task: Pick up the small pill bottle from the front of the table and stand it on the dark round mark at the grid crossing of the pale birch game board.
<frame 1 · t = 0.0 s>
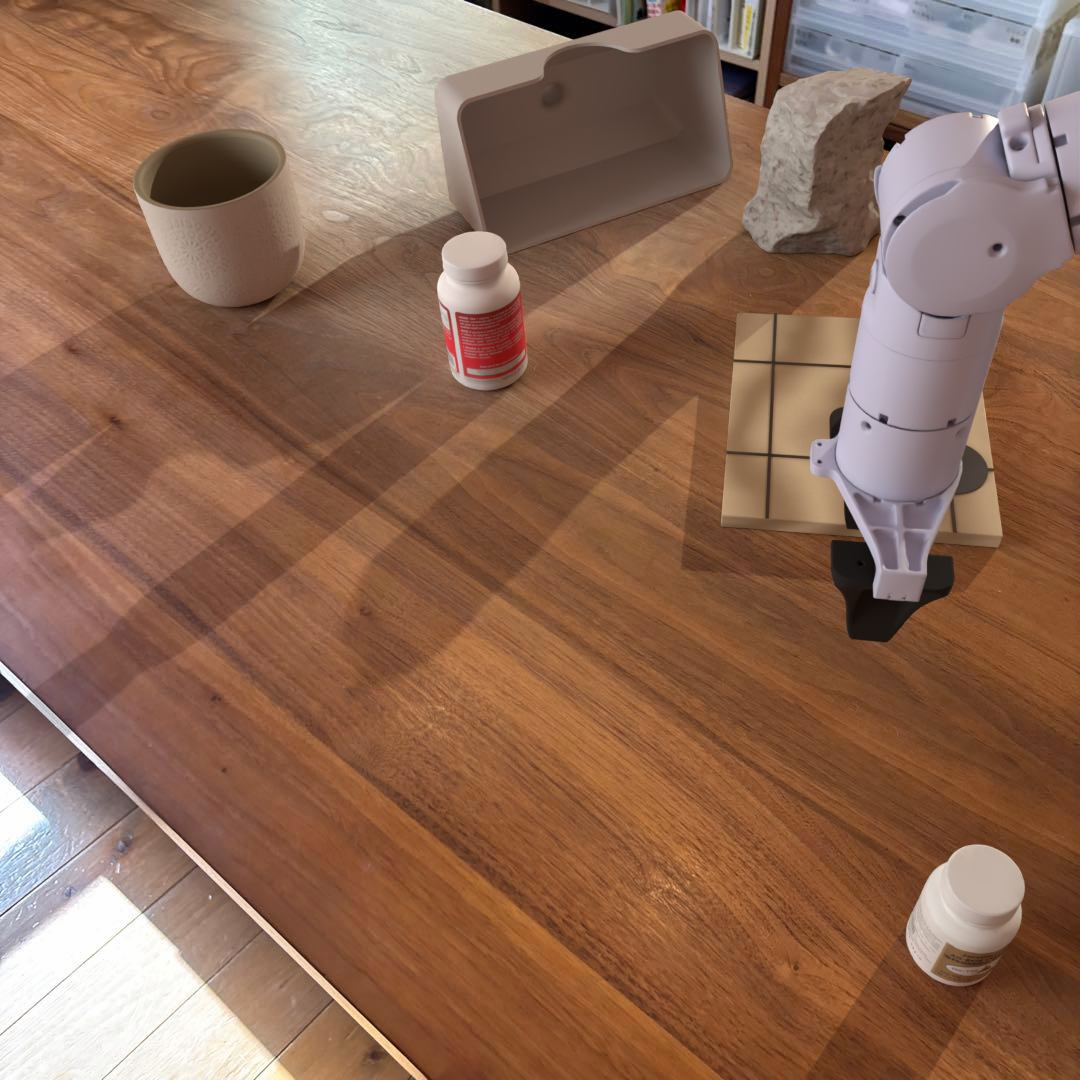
hand: (866, 578, 60), 9 cm above the table, tool pointing down, fingers open, 7 cm apart
planter: (246, 281, 98), on the table
pill bottle: (949, 946, 56), on the table
grey storage bin: (576, 179, 105), on the table
decorative stone: (812, 236, 97), on the table
pill bottle 2: (489, 369, 88), on the table
board: (853, 424, 81), on the table
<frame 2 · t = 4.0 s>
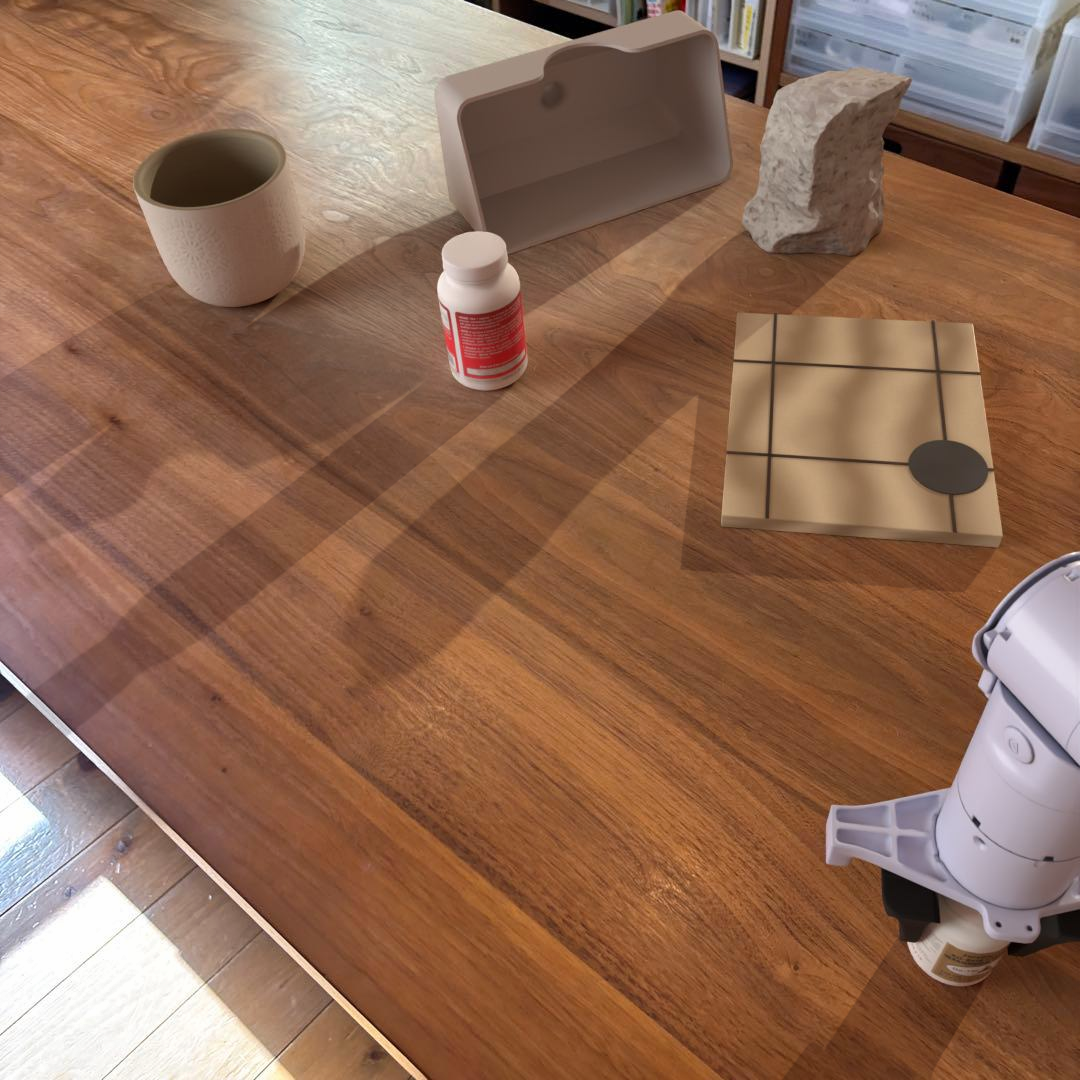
hand: (958, 928, 54), 2 cm above the table, tool pointing down, fingers closed on pill bottle, 4 cm apart
pill bottle: (949, 946, 56), on the table, touching gripper
everything else where it was.
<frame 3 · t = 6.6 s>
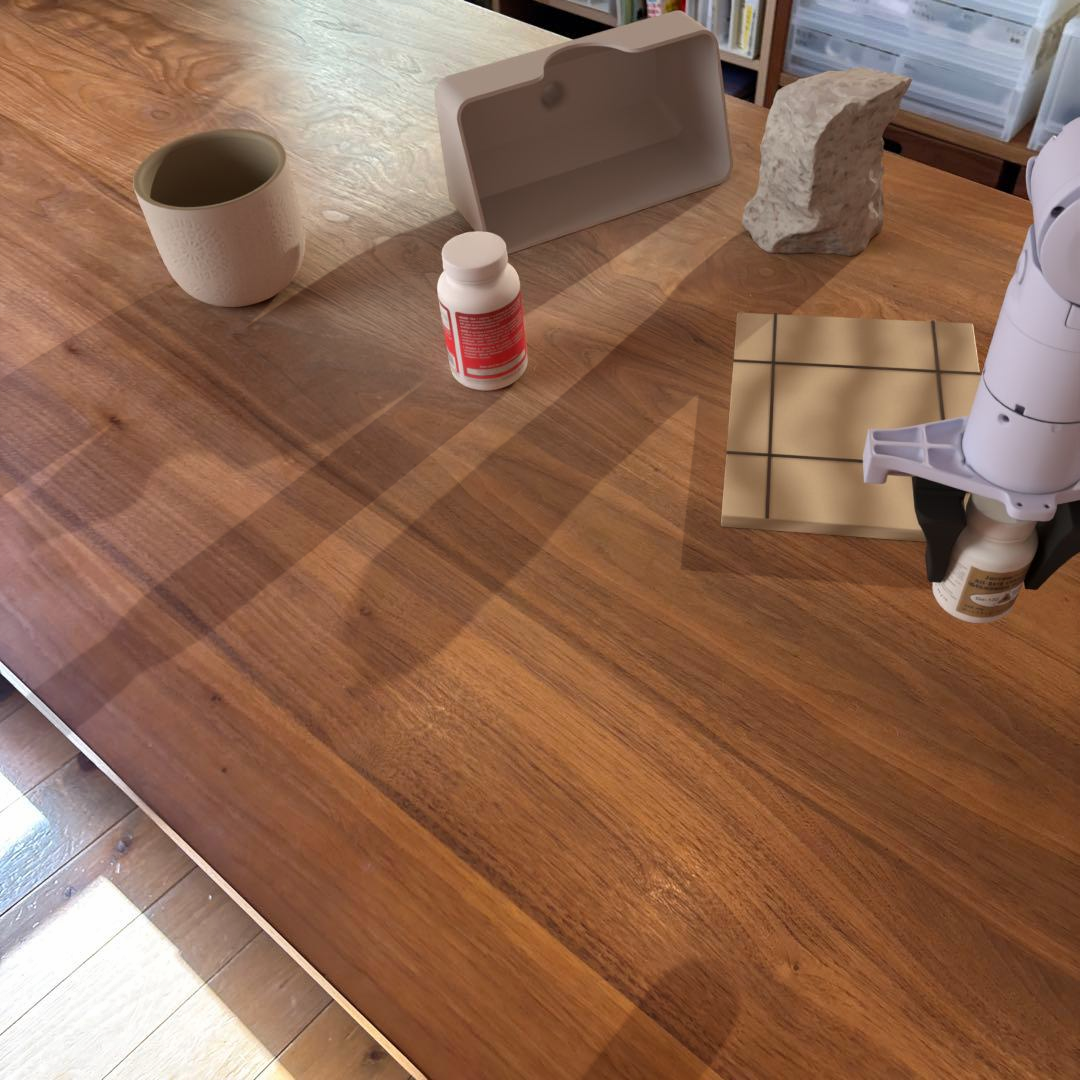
hand: (979, 571, 60), 9 cm above the table, tool pointing down, fingers closed on pill bottle, 4 cm apart
pill bottle: (971, 597, 62), point 6 cm above the table, touching gripper
everything else where it was.
when the fingers open (3 cm above the table, at t = 9.5 s): pill bottle stays where it is, resting on board.
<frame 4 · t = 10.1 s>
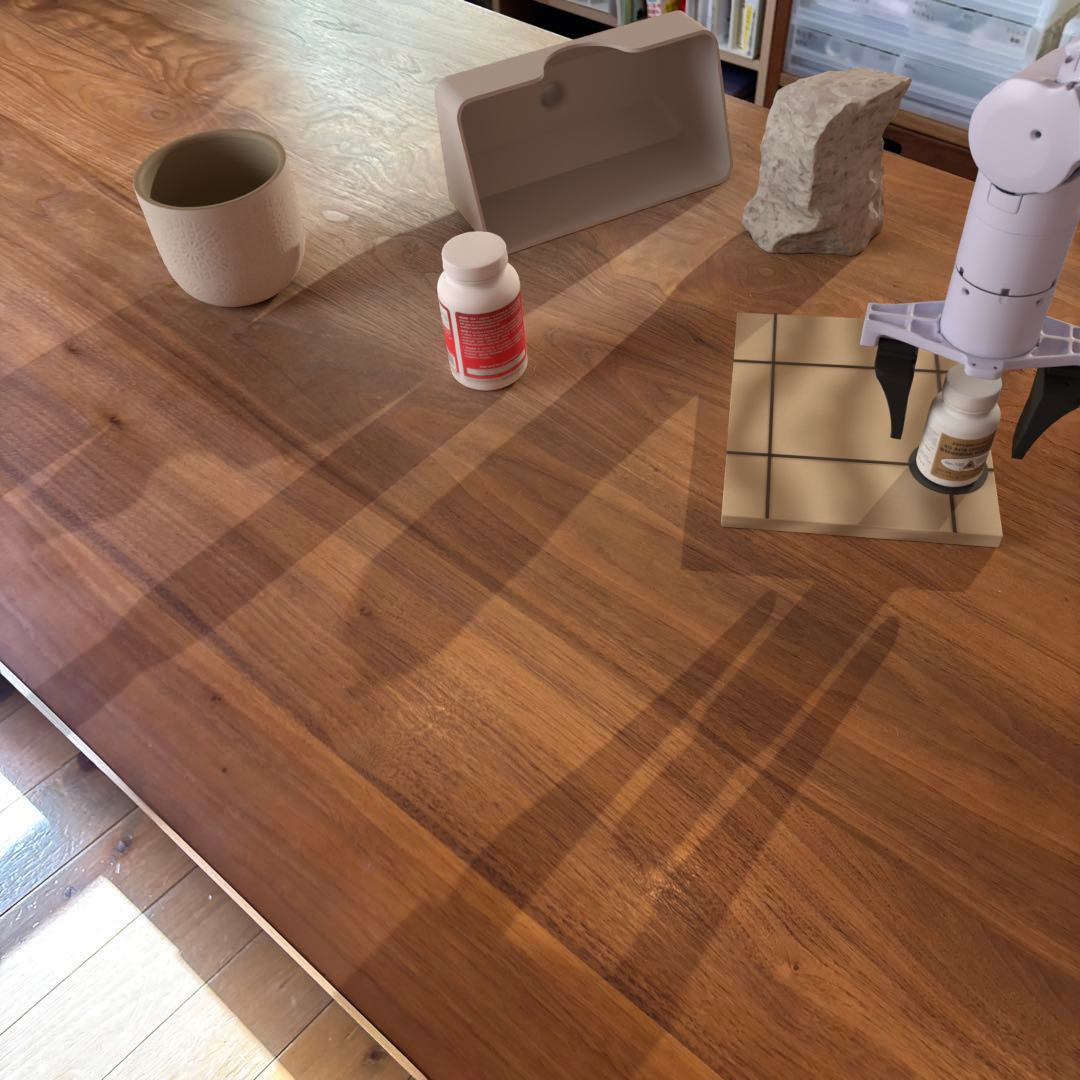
hand: (956, 438, 74), 4 cm above the table, tool pointing down, fingers open, 7 cm apart
pill bottle: (948, 468, 76), point 1 cm above the table, touching board
everything else where it was.
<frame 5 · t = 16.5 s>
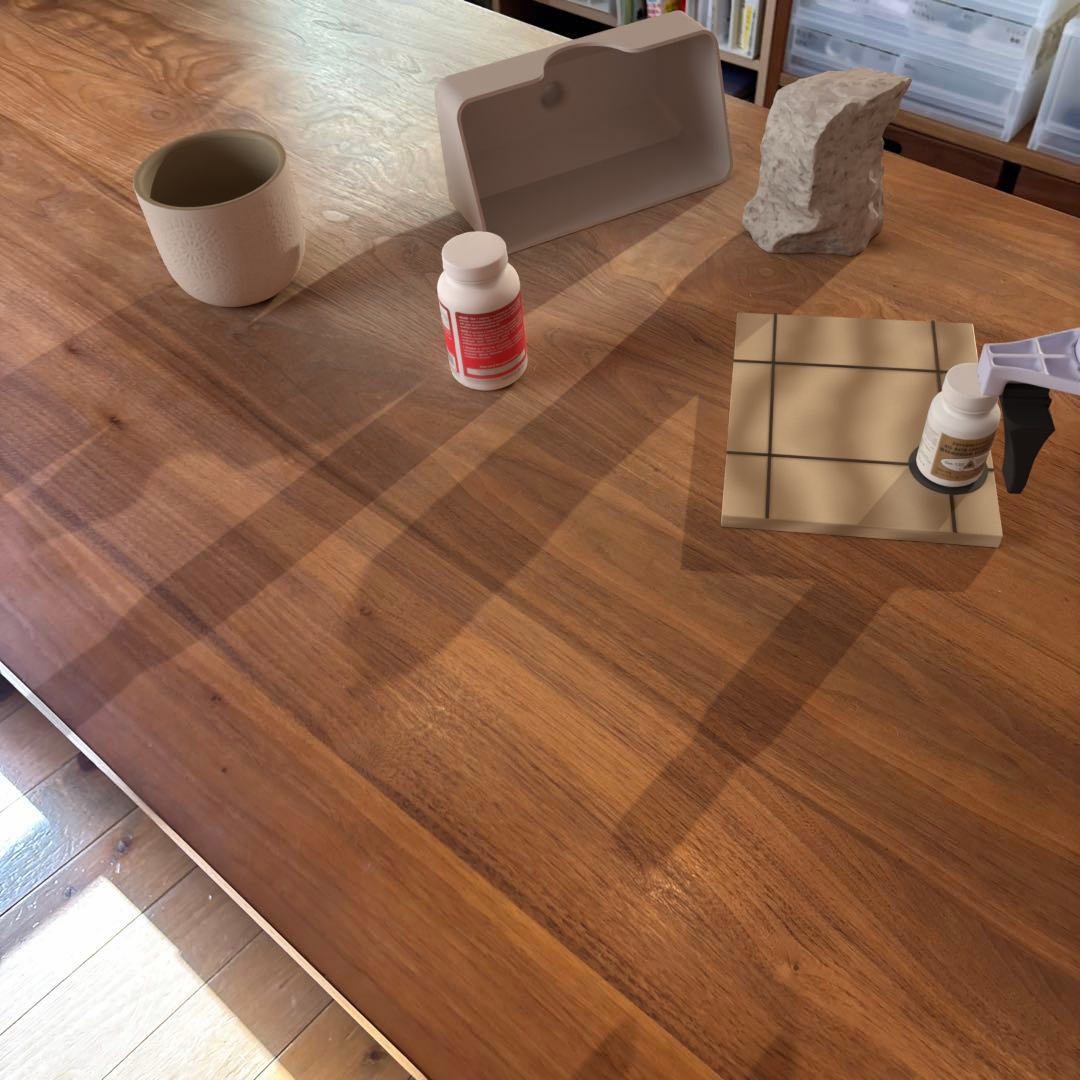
nothing on the table moved.
at the end: pill bottle 0.0 cm from the target spot on the board, point 1.1 cm above the board's base; pill bottle tilted 0°; the gripper is holding nothing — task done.
